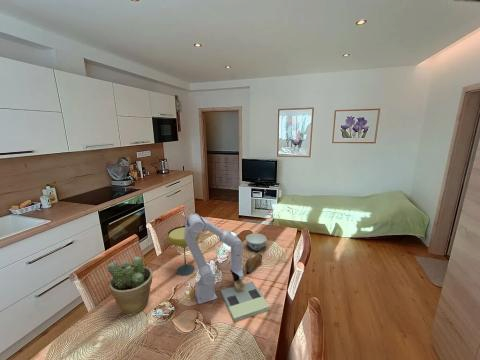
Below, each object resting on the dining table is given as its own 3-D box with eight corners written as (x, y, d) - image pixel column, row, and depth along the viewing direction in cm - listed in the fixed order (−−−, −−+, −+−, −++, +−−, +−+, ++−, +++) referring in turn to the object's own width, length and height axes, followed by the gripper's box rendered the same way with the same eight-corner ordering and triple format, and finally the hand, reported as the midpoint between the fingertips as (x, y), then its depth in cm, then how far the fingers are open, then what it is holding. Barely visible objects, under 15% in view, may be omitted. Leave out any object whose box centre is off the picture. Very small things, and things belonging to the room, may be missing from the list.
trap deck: (234, 322, 97) (234, 318, 96) (221, 293, 114) (221, 290, 113) (269, 309, 103) (269, 306, 103) (252, 284, 121) (252, 281, 120)
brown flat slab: (248, 275, 128) (248, 262, 126) (244, 273, 130) (244, 260, 128) (262, 263, 140) (262, 251, 138) (258, 261, 142) (258, 250, 140)
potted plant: (143, 287, 119) (139, 245, 113) (162, 303, 107) (158, 257, 102) (106, 307, 105) (99, 260, 99) (124, 329, 93) (116, 277, 88)
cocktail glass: (164, 270, 133) (161, 232, 128) (190, 258, 146) (188, 223, 140) (180, 284, 121) (177, 242, 115) (206, 270, 133) (205, 232, 128)
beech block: (237, 292, 112) (237, 286, 111) (234, 287, 115) (234, 281, 114) (244, 290, 113) (244, 284, 112) (241, 285, 117) (241, 279, 116)
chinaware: (267, 253, 151) (267, 243, 149) (245, 253, 151) (245, 243, 149) (265, 242, 165) (265, 233, 164) (245, 242, 166) (245, 233, 164)
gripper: (249, 265, 110) (248, 289, 113) (238, 251, 123) (238, 272, 126) (235, 269, 107) (236, 293, 110) (226, 254, 120) (226, 276, 123)
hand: (236, 282), depth 118 cm, fingers closed
